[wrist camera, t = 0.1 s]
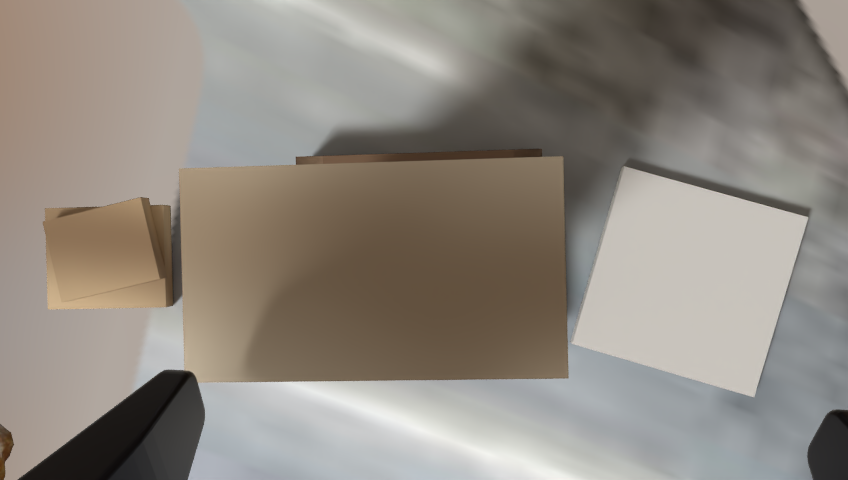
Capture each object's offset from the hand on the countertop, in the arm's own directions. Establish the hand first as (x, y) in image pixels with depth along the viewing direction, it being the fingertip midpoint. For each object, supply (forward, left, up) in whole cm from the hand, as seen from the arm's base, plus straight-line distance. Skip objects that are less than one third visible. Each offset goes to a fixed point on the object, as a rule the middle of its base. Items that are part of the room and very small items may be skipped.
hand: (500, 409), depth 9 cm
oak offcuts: (+8, +12, -15) cm, 21 cm away
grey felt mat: (-3, -8, -15) cm, 17 cm away
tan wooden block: (+3, +1, -15) cm, 15 cm away
